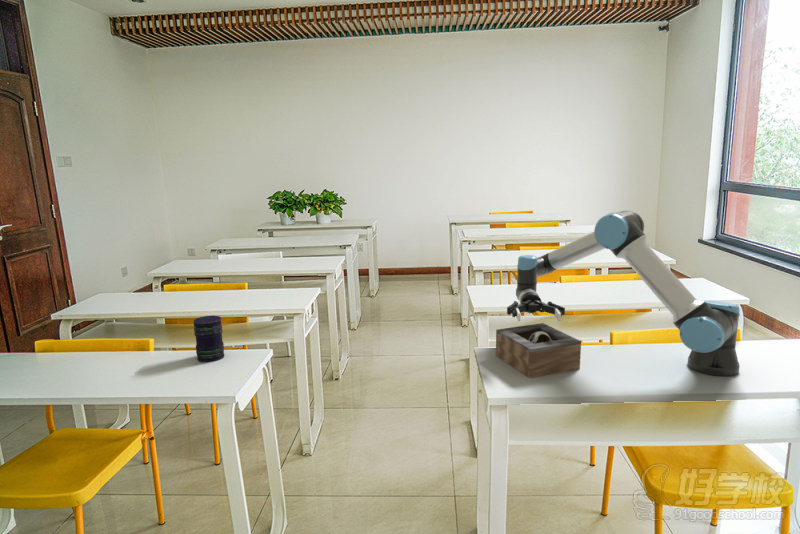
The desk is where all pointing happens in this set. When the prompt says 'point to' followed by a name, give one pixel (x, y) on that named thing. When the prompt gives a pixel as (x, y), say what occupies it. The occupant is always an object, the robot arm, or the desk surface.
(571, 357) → the box
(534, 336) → the watch
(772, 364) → the desk surface
